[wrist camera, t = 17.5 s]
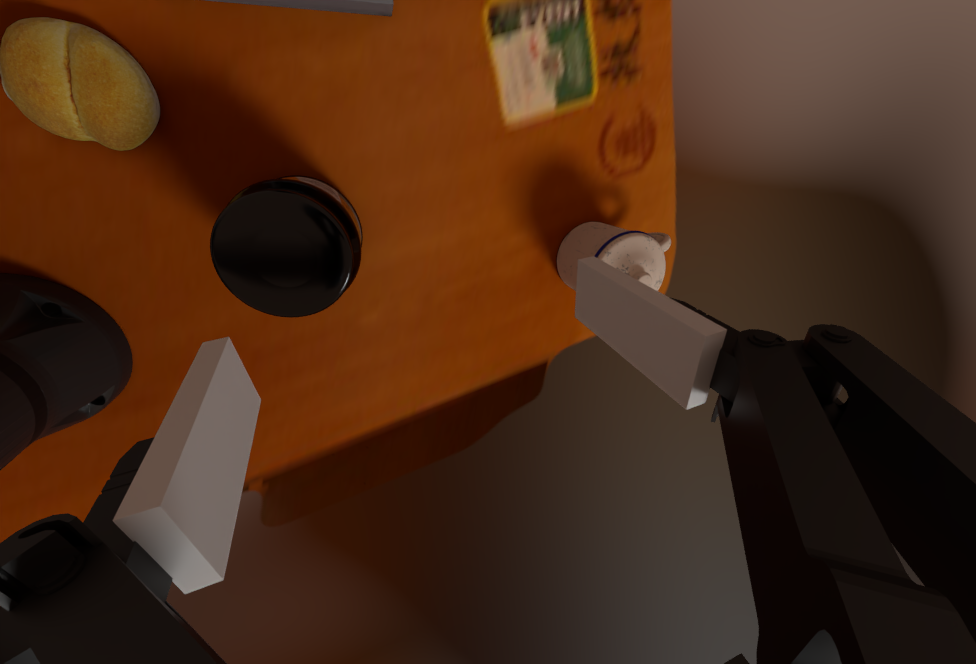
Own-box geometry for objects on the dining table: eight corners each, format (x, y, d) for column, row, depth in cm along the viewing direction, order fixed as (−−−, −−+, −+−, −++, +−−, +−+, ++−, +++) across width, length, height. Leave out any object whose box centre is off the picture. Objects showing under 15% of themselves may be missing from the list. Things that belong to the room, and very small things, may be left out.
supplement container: (332, 158, 37) (316, 159, 26) (380, 259, 42) (383, 293, 31) (224, 197, 36) (163, 214, 25) (286, 296, 41) (256, 345, 30)
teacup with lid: (566, 303, 50) (615, 340, 40) (543, 240, 46) (592, 264, 36) (645, 260, 51) (714, 286, 41) (630, 194, 47) (703, 205, 36)
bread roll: (166, 159, 34) (142, 160, 30) (30, 127, 31) (-14, 123, 27) (163, 51, 31) (137, 38, 28) (13, 3, 28) (-38, -18, 25)
